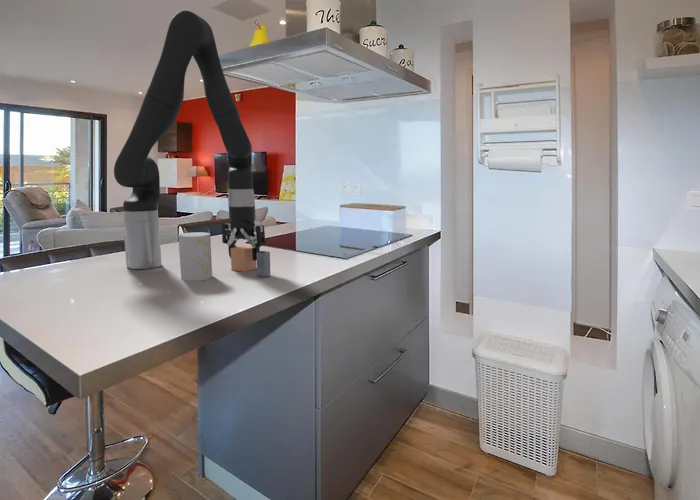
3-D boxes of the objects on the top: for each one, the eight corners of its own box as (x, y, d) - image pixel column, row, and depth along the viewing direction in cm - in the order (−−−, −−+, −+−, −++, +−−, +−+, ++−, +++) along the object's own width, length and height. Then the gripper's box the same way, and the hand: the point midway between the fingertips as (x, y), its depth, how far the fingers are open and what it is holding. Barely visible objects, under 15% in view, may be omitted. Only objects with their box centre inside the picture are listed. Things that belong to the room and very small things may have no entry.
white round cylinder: (202, 281, 112) (199, 237, 110) (174, 279, 114) (172, 235, 112) (217, 274, 120) (215, 232, 118) (191, 273, 122) (189, 231, 120)
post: (257, 277, 118) (256, 252, 116) (262, 275, 120) (262, 250, 119) (264, 278, 117) (264, 253, 115) (270, 276, 119) (269, 251, 118)
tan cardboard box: (231, 269, 126) (230, 248, 125) (242, 266, 131) (242, 245, 130) (245, 271, 124) (244, 249, 123) (256, 268, 129) (255, 246, 127)
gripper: (214, 204, 123) (217, 259, 126) (253, 206, 117) (255, 263, 120) (231, 203, 130) (234, 255, 133) (269, 204, 124) (271, 258, 127)
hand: (244, 258), depth 126 cm, fingers open, 8 cm apart
